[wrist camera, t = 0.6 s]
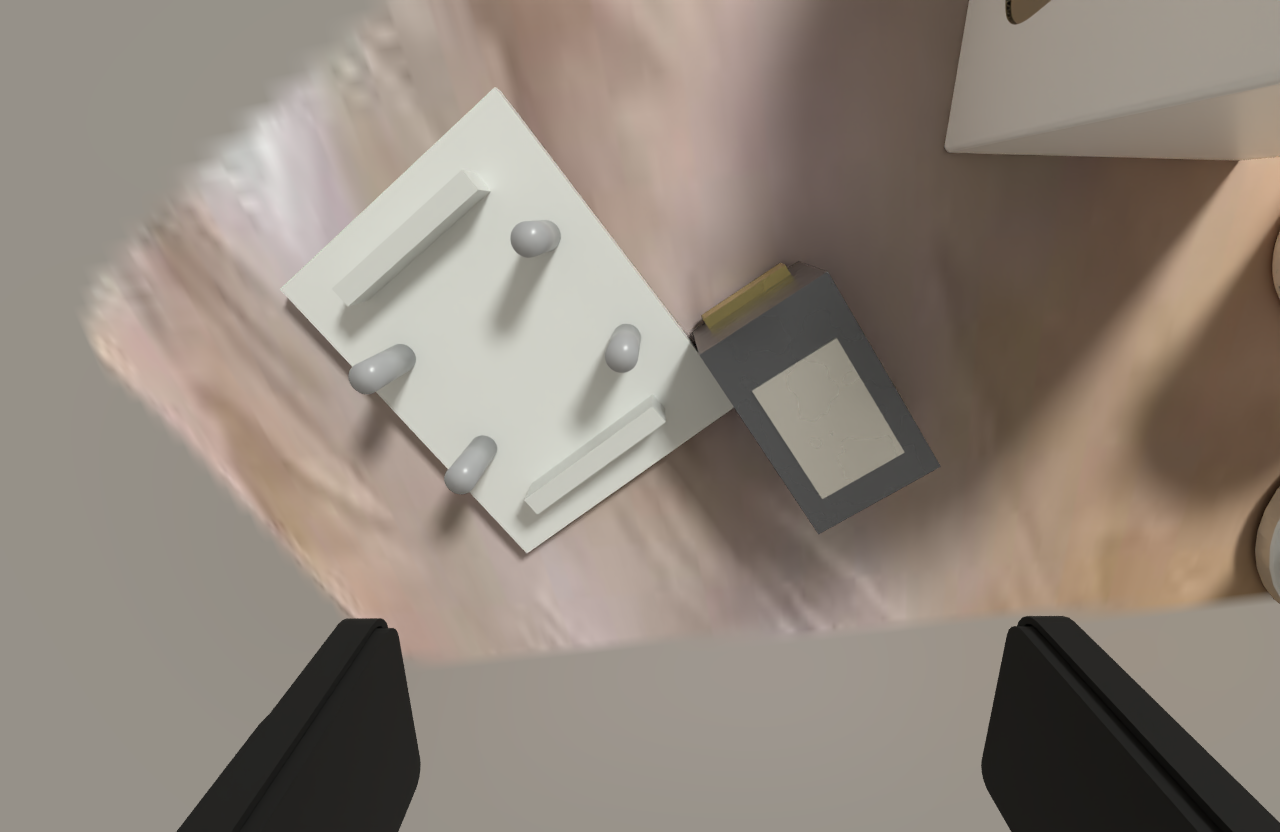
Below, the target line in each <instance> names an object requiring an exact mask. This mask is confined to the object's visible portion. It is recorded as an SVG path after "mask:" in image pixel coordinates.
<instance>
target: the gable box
mask: <svg viewBox="0 0 1280 832" xmlns="http://www.w3.org/2000/svg"><path fill="white" fill-rule="evenodd" d="M944 147H945V149H946V150H947V151H948V153H979V154H1016V155H1053V156H1090V157H1127V158H1164V159H1201V160H1251V159H1263V158H1274V157H1280V0H969V4H968V10H967V16H966V22H965V28H964V34H963V40H962V46H961V51H960V57H959V63H958V69H957V75H956V81H955V87H954V93H953V99H952V104H951V110H950V116H949V122H948V128H947V134H946V140H945V146H944Z"/></svg>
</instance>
